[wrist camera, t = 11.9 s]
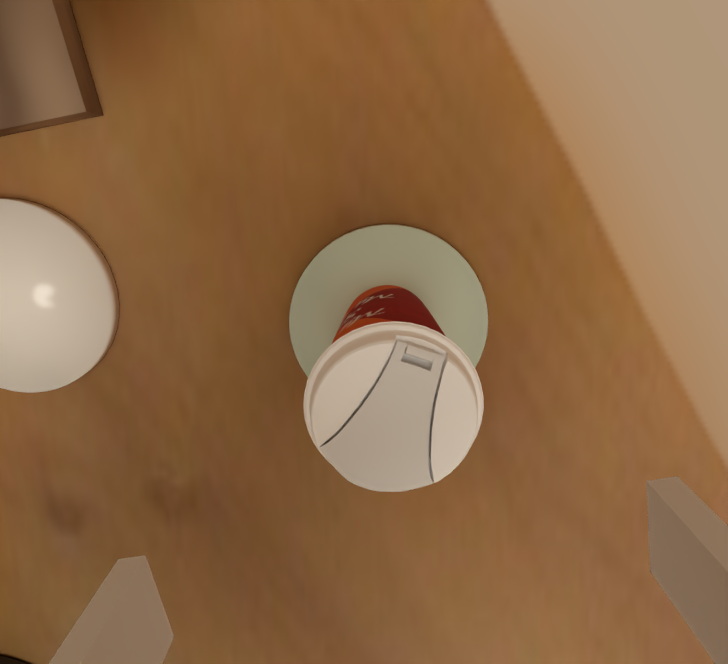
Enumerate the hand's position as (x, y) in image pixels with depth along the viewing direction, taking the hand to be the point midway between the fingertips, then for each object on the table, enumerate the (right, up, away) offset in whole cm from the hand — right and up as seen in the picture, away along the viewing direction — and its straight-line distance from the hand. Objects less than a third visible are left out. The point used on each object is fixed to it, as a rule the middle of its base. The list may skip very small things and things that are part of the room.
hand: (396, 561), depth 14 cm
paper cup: (+1, +6, +21) cm, 22 cm away
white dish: (-24, +8, +22) cm, 34 cm away
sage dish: (+1, +7, +22) cm, 23 cm away
